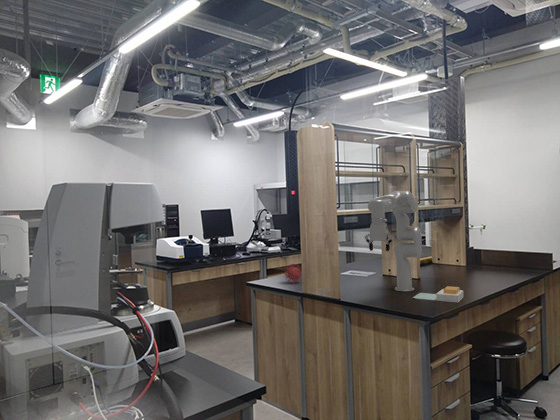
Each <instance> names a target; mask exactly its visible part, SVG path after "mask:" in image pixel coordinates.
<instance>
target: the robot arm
mask: <svg viewBox="0 0 560 420" xmlns="http://www.w3.org/2000/svg"><path fill="white" fill-rule="evenodd" d="M367 209H368V211H369V212H370V213H371V223H370V227H369V233H368V234H366V235H365V236H364V240H365V242H367V243H368V249H369V251H370V252H371V251H372V252H373V251H374V243H373V242H374V241H376V242H384V243H385V252H389V251H390V248H391V247H390V244H391V243H392V242H393V239H394V235H392V234H390V233H389V230H388V229H389V228H388V223H386V222H388V219H387V218H386V215H385V213H389V212H392V214H393V215H394V217H395V219H396V239H397V240H399V241H405V242H397V243H396V244H395V245H394V248H393V250H394V251H393V252H394V255H395V265H396V266H395V267H396V268H395V269H396V286H395V287H394V290H395V291H397V292H413V291H415V288H414V287H413V286H412V285H413V282H412V280H413V279H412V263H411V261H410V259H409V258H419V257H421V256H422V253H423V251H422V250H423V247H422V246H423V245H422V244H423V243H422V240H423V239H422V229H421V228H420V227H419V226H411V225H410V218H409V216H408V215H407V214H414V213H416V212H418V211H417V210H418V202H417V200H416V199H415V197H414V195H413V193H412V192H411V191H409V190H394V191H392V192H389V193H388V194H385V195H382V196H377V197H374V198H371V199H370V200H369V201H368V203H367ZM389 238H390V239H389ZM407 241H408V242H407ZM409 241H413V242H409Z"/></svg>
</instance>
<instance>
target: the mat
mask: <svg viewBox="0 0 560 420" xmlns="http://www.w3.org/2000/svg"><path fill="white" fill-rule="evenodd" d="M436 294H437V293H426V292H419V293H417V294H416V295H414V296H413V297H412V299H413V298H415V299H416V300H424V301H425V300H427V301H437V300H436ZM415 299H414V300H415Z"/></svg>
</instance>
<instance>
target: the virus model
mask: <svg viewBox="0 0 560 420" xmlns="http://www.w3.org/2000/svg"><path fill="white" fill-rule="evenodd" d="M284 269H285V271H284V276H285V279H286V281H287V282H294V283H295V282H296V283H297V282H298V283H300V282H301V280H302V276H301V275H302V270H301V267H299V265H298V264H297V263H290V264H289V265H287V266H286V268H284Z"/></svg>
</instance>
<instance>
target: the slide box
mask: <svg viewBox="0 0 560 420" xmlns="http://www.w3.org/2000/svg"><path fill="white" fill-rule="evenodd" d="M443 289H444V293H445V294H457V293H458V292H459V291H460V290H461V289H460V286H450V285H449V286H448V285H447V286H446V287H445V288H443Z"/></svg>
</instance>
